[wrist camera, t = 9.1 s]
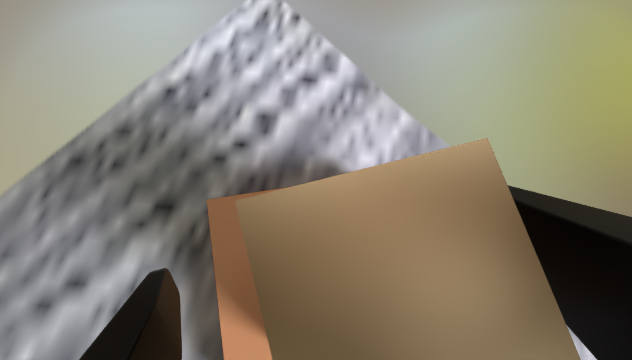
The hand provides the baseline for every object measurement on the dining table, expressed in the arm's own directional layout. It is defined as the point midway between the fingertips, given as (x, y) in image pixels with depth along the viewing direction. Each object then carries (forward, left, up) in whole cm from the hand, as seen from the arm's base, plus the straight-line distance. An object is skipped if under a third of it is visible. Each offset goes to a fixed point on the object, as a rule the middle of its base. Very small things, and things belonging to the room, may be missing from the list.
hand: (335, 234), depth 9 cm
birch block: (-1, 0, -8) cm, 8 cm away
